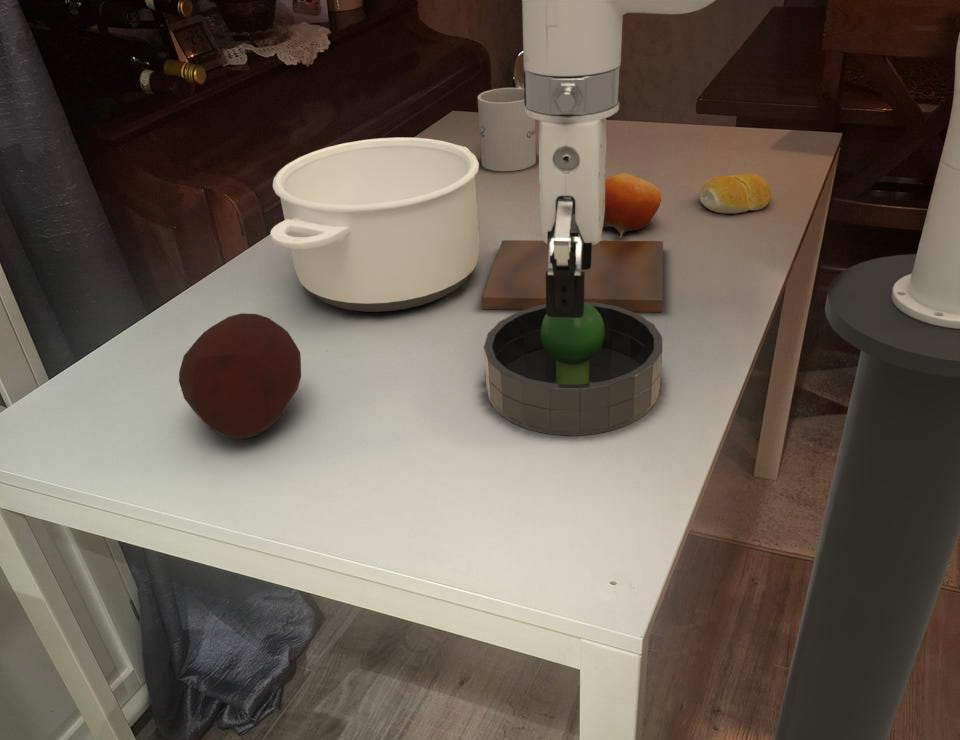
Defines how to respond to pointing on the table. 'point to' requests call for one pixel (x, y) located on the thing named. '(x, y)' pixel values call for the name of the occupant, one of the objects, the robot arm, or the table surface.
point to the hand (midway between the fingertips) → (569, 290)
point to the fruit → (629, 202)
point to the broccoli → (573, 343)
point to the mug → (505, 130)
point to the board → (610, 280)
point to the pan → (569, 407)
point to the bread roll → (735, 193)
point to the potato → (241, 375)
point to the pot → (380, 221)
